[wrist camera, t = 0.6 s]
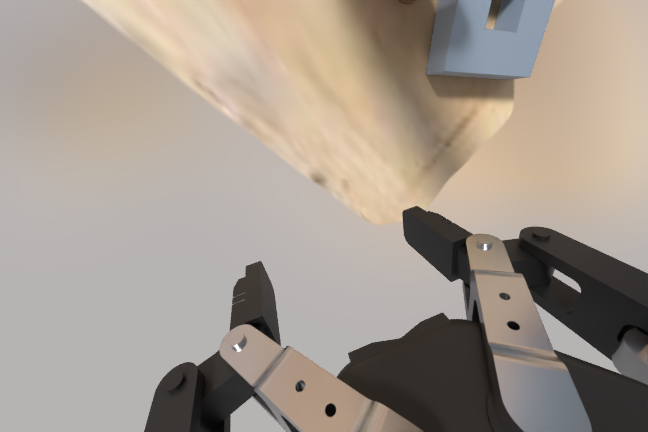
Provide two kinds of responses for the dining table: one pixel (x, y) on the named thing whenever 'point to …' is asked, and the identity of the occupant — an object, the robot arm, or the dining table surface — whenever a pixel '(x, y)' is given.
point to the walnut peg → (406, 1)
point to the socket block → (487, 38)
